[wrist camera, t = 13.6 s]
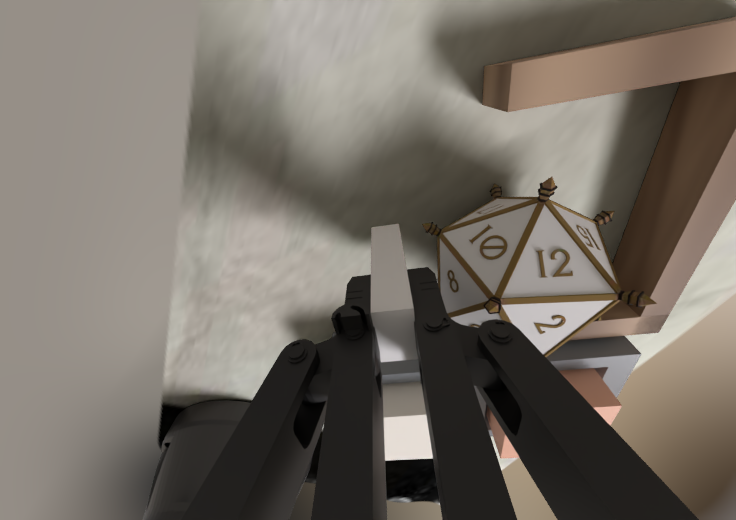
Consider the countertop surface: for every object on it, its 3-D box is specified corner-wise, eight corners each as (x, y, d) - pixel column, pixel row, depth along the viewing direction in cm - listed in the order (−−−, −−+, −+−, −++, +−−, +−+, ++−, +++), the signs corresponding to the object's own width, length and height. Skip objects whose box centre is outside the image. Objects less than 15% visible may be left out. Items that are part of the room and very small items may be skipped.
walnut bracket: (472, 314, 20) (485, 347, 18) (484, 66, 12) (512, 63, 10) (621, 298, 19) (658, 332, 17) (745, 14, 11) (852, -3, 9)
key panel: (355, 397, 27) (352, 444, 23) (332, 333, 22) (325, 379, 18) (568, 382, 25) (598, 430, 21) (596, 306, 20) (641, 354, 16)
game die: (477, 230, 21) (503, 377, 17) (382, 202, 16) (392, 388, 13) (631, 160, 14) (725, 386, 10) (532, 77, 9) (637, 418, 6)
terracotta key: (486, 414, 22) (500, 458, 20) (491, 367, 19) (509, 412, 16) (567, 409, 21) (593, 454, 19) (588, 360, 18) (622, 405, 16)
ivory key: (373, 419, 23) (373, 461, 21) (359, 375, 20) (357, 419, 17) (446, 414, 23) (455, 457, 20) (445, 368, 19) (456, 412, 17)
